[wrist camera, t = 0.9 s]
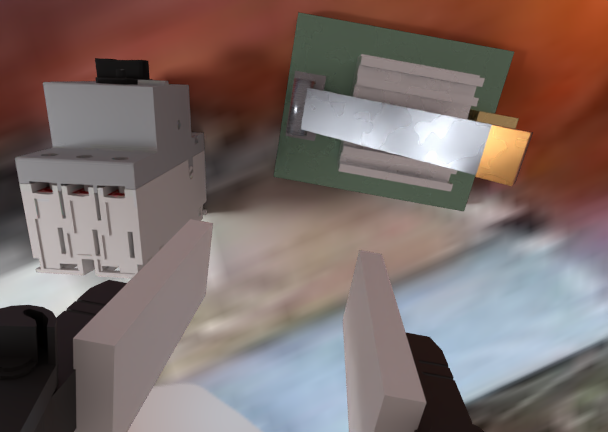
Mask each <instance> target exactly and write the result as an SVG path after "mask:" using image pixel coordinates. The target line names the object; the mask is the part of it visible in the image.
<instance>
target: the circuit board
mask: <svg viewBox="0 0 608 432" xmlns="http://www.w3.org/2000/svg"><path fill="white" fill-rule="evenodd" d="M513 55H514V52H513V51H508V50H502V49H497V48H491V47H486V46H480V45H475V44H469V43H464V42H458V41H453V40H447V39H442V38H436V37H431V36H425V35H420V34H414V33H409V32H403V31H398V30H392V29H387V28H381V27H376V26H370V25H365V24H359V23H354V22H348V21H343V20H337V19H332V18H326V17H321V16H315V15H310V14H304V13H299V12H298V19H297V25H296V32H295V38H294V45H293V52H292V58H291V65H290V71H289V78H288V85H287V91H286V98H285V104H284V111H283V118H282V124H281V131H280V138H279V144H278V151H277V157H276V164H275V171H274V177H278V178H284V179H289V180H295V181H300V182H306V183H311V184H317V185H322V186H328V187H333V188H339V189H344V190H350V191H355V192H361V193H366V194H372V195H377V196H382V197H388V198H393V199H399V200H404V201H410V202H415V203H421V204H426V205H432V206H437V207H443V208H448V209H454V210H459V211H464V210H465V207H466V203H467V200H468V197H469V194H470V191H471V188H472V184H473V181H474V178H475V175H473V174H470V173H466V172H462V171H458V170H454V169H450V168H447V167H443V166H439V165H435V164H431V163H427V162H424V161H420V160H416V159H412V158H408V157H405V156H401V155H397V154H393V153H389V152H385V151H382V150H378V149H374V148H370V147H366V146H362V145H359V144H355V143H351V142H347V141H343V140H339V139H336V138H332V137H328V136H324V135H320V134H317V133H313V132H309V131H307V136H296V135H291V134H288V133H286V130H287V124H288V117H289V111H290V104H291V98H292V91H293V85H294V79H295V78H299V79H305V80H310V81H315V82H316V85H315V89H319V90H324V91H329V92H334V93H339V94H344V95H349V96H354V97H359V98H364V99H369V100H374V101H379V102H384V103H389V104H394V105H399V106H404V107H409V108H414V109H419V110H424V111H429V112H434V113H439V114H444V115H449V116H454V117H459V118H464V119H469V120H474V121H479V122H484V123H489V124H494V125H499V126H504V127H509V128H514V129H515V128H516V125H517V122H518V119H519V118H514V117H509V116H505V115H500V114H495V112H496V108H497V105H498V102H499V99H500V96H501V93H502V89H503V86H504V83H505V80H506V77H507V74H508V70H509V67H510V64H511V61H512V58H513Z"/></svg>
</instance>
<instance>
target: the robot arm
mask: <svg viewBox="0 0 608 432" xmlns="http://www.w3.org/2000/svg"><path fill="white" fill-rule="evenodd" d="M212 228H213V223H209V222H204V221H198V220H193V219H190V220H189V221H188V222H187V223H186V224H185V225H184V226H183V227H182V228H181V229H180V230H179V231H178V232H177V233H176V234H175V235H174V236H173V237H172V238H171V239H170V240H169V241H168V242H167V243H166V244H165V245H164V246H163V247H162V248H161V250H160V251H159V252H158V253H157V254H156V255H155V256H154V257H153V258H152V259H151V260H150V261H149V262H148V263H147V264H146V265H145V266H144V267H143V268H142V269H141V270H140V271H139V272H138V273H137V274H136V275H135V276H134V277H133V278H132V279H131V280H130V281H129V282H128V283H123V282H118V281H112V280H108V281H105V282H103V283H101V284H98V285H96V286H94V287H91V288H90V289H89V290H88V291H86V292H85V293H84V294H83V295H82V296H81V297H80V298H78V300H77V302H76V301H75V302H74V303H73V304H72V305H70V306H69V307H68V308H67V310H66V311H64V312H62V313H61V314H60V315H59V316H58V317H57V318H56V317H55V315H54V314H53V312H52V311H50V310H48V309H46V308H44V307H39V306H32V305H19V306H9V307H5V308H0V432H127V431H128V430H129V428H130V426H131V424H132V422H133V421H134V419H135V417H136V416H137V414H138V412H139V410H140V408H141V407H142V405H143V403H144V402H145V400H146V398H147V396H148V395H149V393H150V391H151V389H152V388H153V386H154V384H155V382H156V381H157V379H158V377H159V375H160V374H161V372H162V370H163V368H164V367H165V365H166V363H167V361H168V360H169V358H170V356H171V354H172V353H173V351H174V349H175V347H176V346H177V344H178V342H179V340H180V339H181V337H182V335H183V333H184V332H185V330H186V328H187V326H188V325H189V323H190V321H191V319H192V318H193V316H194V314H195V312H196V311H197V309H198V307H199V305H200V304H201V302H202V300H203V298H204V297H205V294H206V285H207V275H208V266H209V256H210V247H211V238H212ZM343 332H344V350H345V368H346V386H347V404H348V421H349V432H484V431H483V430H482V429H480V428H479V427H477V426H475V425H473V424H472V421H471V419H470V416H469V414H468V412H467V409H466V407H465V404H464V402H463V400H462V397H461V395H460V392H459V390H458V388H457V385H456V383H455V380H453V375H452V373H451V371H450V368H448V363H447V361H446V359H445V356H444V354H443V351H442V350H441V349H440V348H439V347H438V346H437V345H436V343H435V342H434V341H433V340H432V339H431V338H430V337H427V336H422V335H416V334H411V333H405V329H404V326H403V323H402V319H401V316H400V313H399V309H398V306H397V303H396V299H395V296H394V293H393V289H392V286H391V283H390V279H389V276H388V273H387V269H386V266H385V263H384V259H383V256H382V254H379V253H374V252H368V251H363V250H359V253H358V258H357V262H356V266H355V270H354V275H353V279H352V283H351V287H350V292H349V296H348V300H347V304H346V309H345V313H344V317H343Z"/></svg>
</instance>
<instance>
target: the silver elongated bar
mask: <svg viewBox="0 0 608 432" xmlns="http://www.w3.org/2000/svg"><path fill="white" fill-rule="evenodd" d="M315 85H316V82H315V81H310V80H305V79H299V78H295V79H294V85H293V91H292V98H291V104H290V111H289V117H288V124H287V130H286V133H288V134H291V135H296V136H307V131H309V132H313V133H317V134H320V135H324V136H328V137H332V138H336V139H339V140H343V141H347V142H351V143H355V144H359V145H362V146H366V147H370V148H374V149H378V150H382V151H385V152H389V153H393V154H397V155H401V156H405V157H408V158H412V159H416V160H420V161H424V162H427V163H431V164H435V165H439V166H443V167H447V168H450V169H454V170H458V171H462V172H466V173H470V174H473V175H476V177H479V178H482V179H486V180H490V181H494V182H498V183H501V184H505V185H509V186H513V185H514V184H515V182H516V180H517V177H518V174H519V171H520V168H521V165H522V162H523V160H524V157H525V154H526V151H527V148H528V145H529V143H530V140H531V137H532V134H533V132H528V131H523V130H518V129H514V128H509V127H504V126H499V125H494V124H489V123H484V122H479V121H474V120H469V119H464V118H459V117H454V116H449V115H444V114H439V113H434V112H429V111H424V110H419V109H414V108H409V107H404V106H399V105H394V104H389V103H384V102H379V101H374V100H369V99H364V98H359V97H354V96H349V95H344V94H339V93H334V92H329V91H324V90H319V89H315Z"/></svg>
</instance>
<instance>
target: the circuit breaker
mask: <svg viewBox="0 0 608 432" xmlns="http://www.w3.org/2000/svg"><path fill="white" fill-rule="evenodd" d="M95 62H96V70H97V77H96V81H79V82H44V83H43V87H44V93H45V100H46V106H47V113H48V119H49V125H50V132H51V138H52V145H53V147H52V148H49V149H45V150H42V151H38V152H34V153H30V154H26V155H22V156H18V157H16V158H15V162H16V168H17V173H18V178H19V183H20V189H21V194H22V200H23V205H24V210H25V216H26V221H27V226H28V232H29V237H30V242H31V248H32V253H33V258H39V261H40V267H38V268H37V269H36V272H38V273H54V274H70V275H85V274H87V273H89V272H91V271H92V270H94V269H95V273H96V276H101V277H117V278H133V277H134V276H135V275H136V274H137V273H138V272H139V271H140V270H141V269H142V268H143V267H144V266H145V265H146V264H147V263H148V262H149V261H150V260H151V259H152V258H153V257H154V256H155V255H156V254H157V253H158V252H159V251H160V250H161V248H162V247H163V246H164V245H165V244H166V243H167V242H168V241H169V240H170V239H171V238H172V237H173V236H174V235H175V234H176V233H177V232H178V231H179V230H180V229H181V228H182V227H183V226H184V225H185V224H186V223H187V222H188V221H189V220H190V219H193V220H198V221H201V220H202V219H203V215H206V214H207V209H203V204H204V203H205V202H206V201H207V198H206V173H205V147H204V133H197V132H191V117H190V98H189V85H179V84H168V81H157V80H152V79H149V65H148V61H146V60H116V59H99V58H95ZM76 266H77V267H78V268H74V267H76ZM118 267H119V268H120V271H113V270H115V269H116V268H118Z"/></svg>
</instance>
